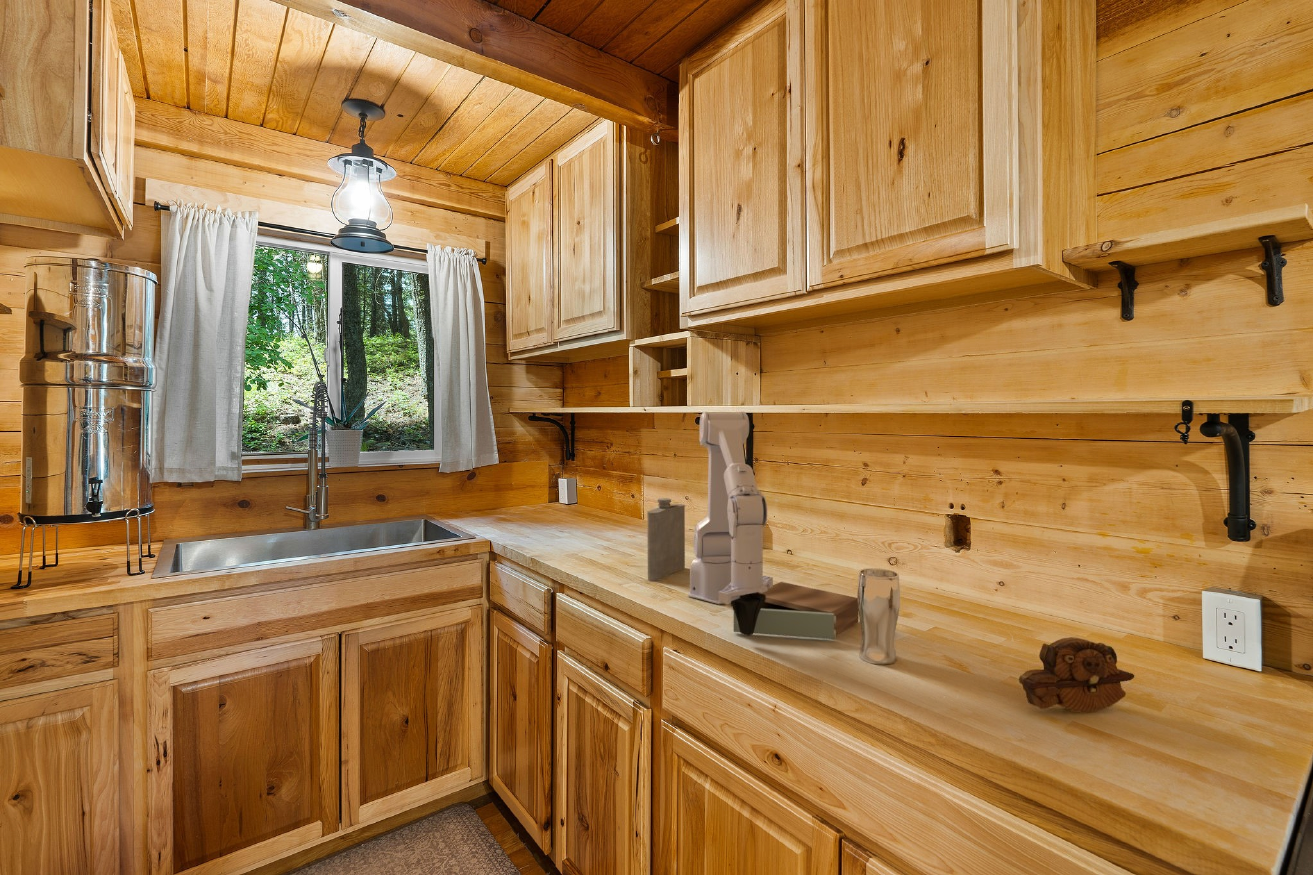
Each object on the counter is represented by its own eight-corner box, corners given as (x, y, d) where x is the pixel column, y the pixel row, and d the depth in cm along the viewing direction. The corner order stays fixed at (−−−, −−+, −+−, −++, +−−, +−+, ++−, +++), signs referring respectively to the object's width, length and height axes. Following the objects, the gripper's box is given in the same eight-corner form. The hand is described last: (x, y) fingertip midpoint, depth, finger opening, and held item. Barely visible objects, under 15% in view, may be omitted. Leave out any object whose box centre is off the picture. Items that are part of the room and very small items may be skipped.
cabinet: (750, 617, 130) (750, 593, 130) (781, 603, 139) (781, 581, 138) (830, 638, 118) (830, 612, 117) (858, 622, 126) (858, 598, 126)
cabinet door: (732, 634, 119) (732, 610, 119) (734, 630, 121) (734, 606, 121) (836, 641, 115) (836, 617, 114) (835, 637, 117) (835, 613, 117)
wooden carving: (1040, 723, 86) (1042, 652, 85) (1015, 708, 90) (1016, 640, 90) (1141, 712, 89) (1143, 643, 88) (1111, 697, 93) (1113, 631, 93)
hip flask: (655, 581, 157) (655, 503, 156) (642, 579, 159) (641, 501, 158) (686, 568, 171) (686, 495, 170) (674, 566, 173) (673, 494, 172)
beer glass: (865, 647, 113) (866, 565, 113) (904, 656, 109) (905, 571, 108) (850, 659, 108) (851, 573, 107) (891, 669, 103) (892, 580, 103)
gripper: (742, 571, 106) (742, 650, 107) (786, 556, 117) (786, 628, 117) (709, 564, 111) (709, 639, 112) (755, 551, 122) (755, 619, 122)
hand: (746, 633), depth 115 cm, fingers closed
